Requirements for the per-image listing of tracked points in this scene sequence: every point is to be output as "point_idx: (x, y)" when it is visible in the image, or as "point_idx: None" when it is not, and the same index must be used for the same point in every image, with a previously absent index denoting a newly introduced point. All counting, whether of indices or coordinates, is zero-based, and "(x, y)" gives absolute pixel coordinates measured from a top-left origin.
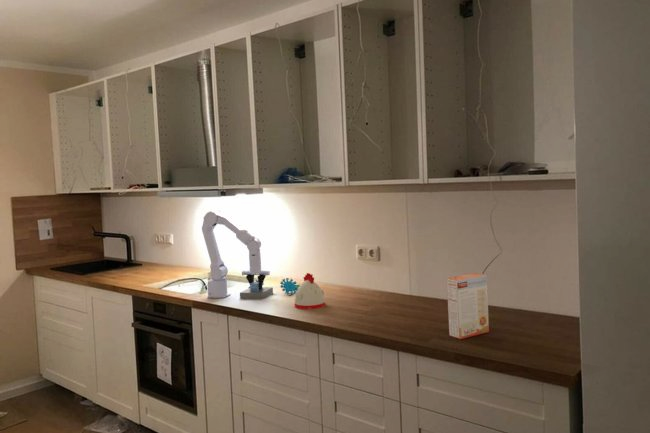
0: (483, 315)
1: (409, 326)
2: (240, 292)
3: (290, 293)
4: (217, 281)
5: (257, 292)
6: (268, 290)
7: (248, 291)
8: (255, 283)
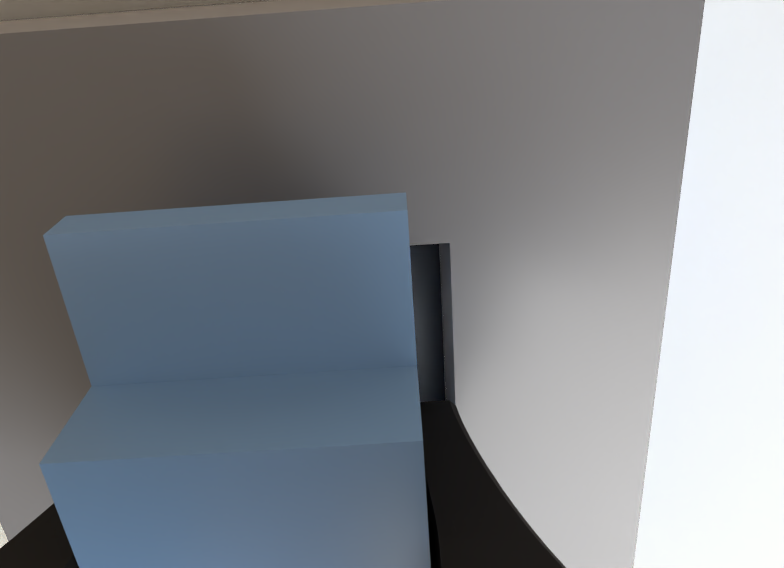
0: None
1: None
2: (691, 25)
3: None
4: None
5: (42, 131)
6: (6, 497)
7: (459, 232)
8: (153, 476)
